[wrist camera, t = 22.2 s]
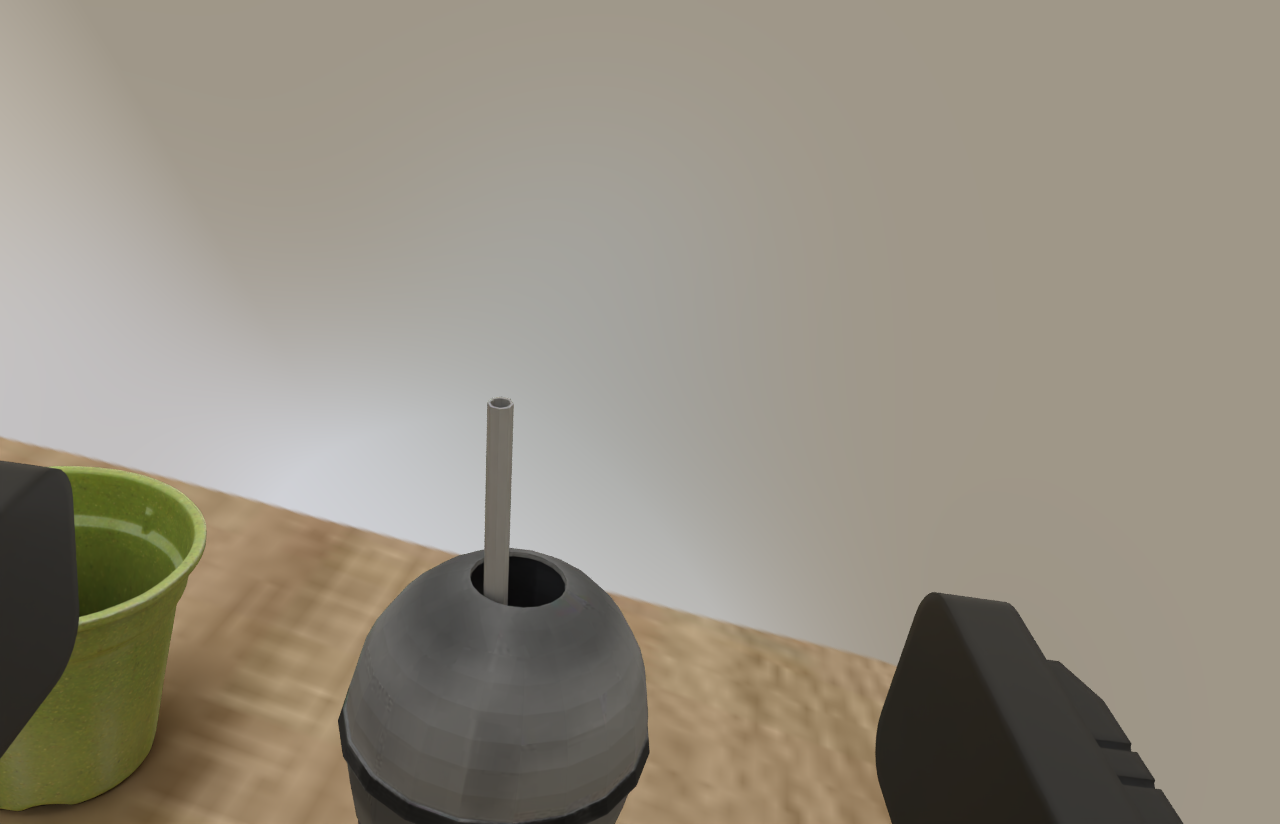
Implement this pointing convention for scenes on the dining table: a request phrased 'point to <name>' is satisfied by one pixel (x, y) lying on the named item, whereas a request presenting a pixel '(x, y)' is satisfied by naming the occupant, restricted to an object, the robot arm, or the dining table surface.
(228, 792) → the dining table surface
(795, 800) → the dining table surface
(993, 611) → the robot arm
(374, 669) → the beverage cup
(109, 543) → the plant pot
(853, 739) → the dining table surface
